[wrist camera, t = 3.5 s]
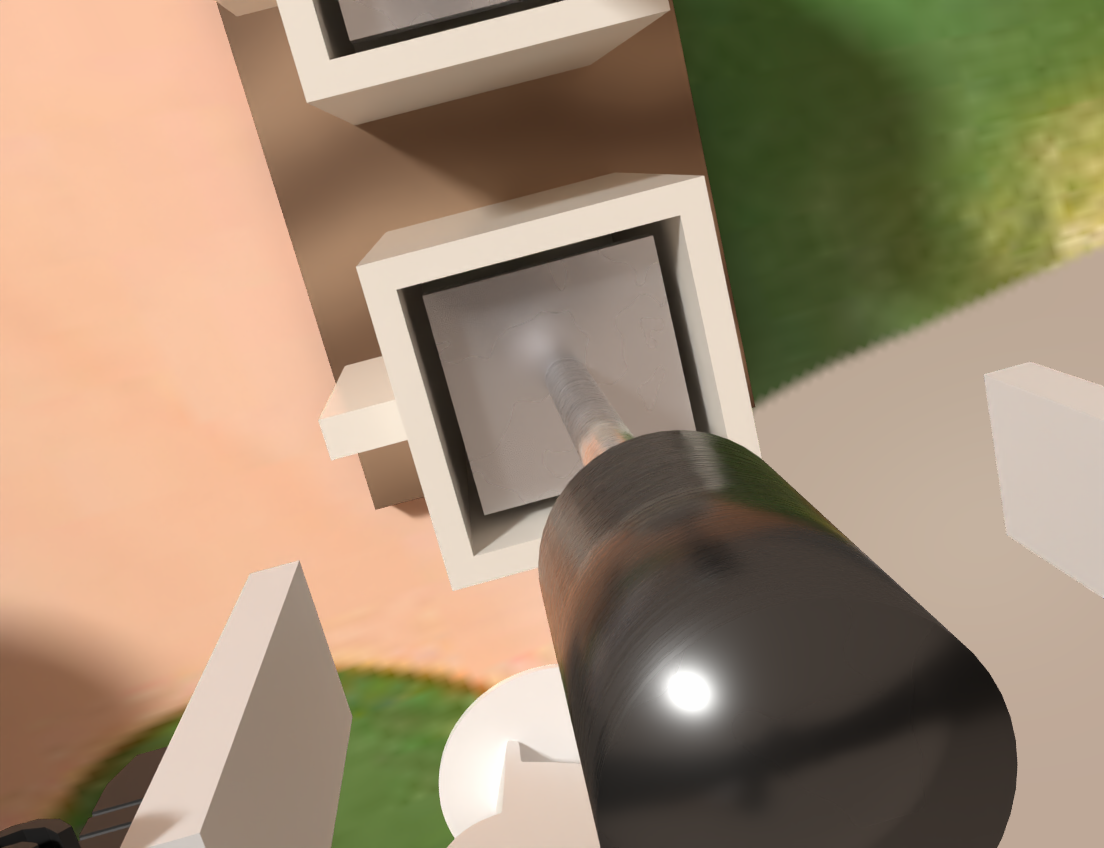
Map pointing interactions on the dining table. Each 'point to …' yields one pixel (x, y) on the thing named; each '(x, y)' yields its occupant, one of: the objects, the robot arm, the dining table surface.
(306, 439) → the dining table surface
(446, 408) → the square cup with tab
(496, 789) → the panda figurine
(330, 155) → the walnut board
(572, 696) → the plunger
